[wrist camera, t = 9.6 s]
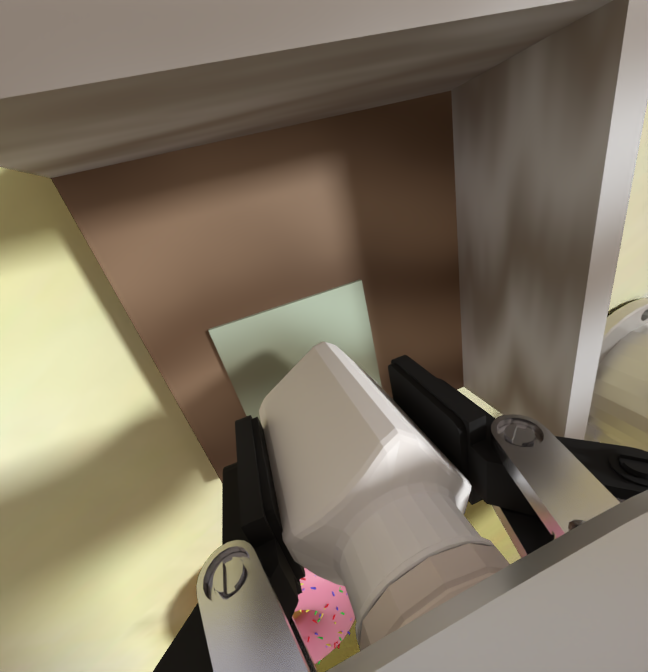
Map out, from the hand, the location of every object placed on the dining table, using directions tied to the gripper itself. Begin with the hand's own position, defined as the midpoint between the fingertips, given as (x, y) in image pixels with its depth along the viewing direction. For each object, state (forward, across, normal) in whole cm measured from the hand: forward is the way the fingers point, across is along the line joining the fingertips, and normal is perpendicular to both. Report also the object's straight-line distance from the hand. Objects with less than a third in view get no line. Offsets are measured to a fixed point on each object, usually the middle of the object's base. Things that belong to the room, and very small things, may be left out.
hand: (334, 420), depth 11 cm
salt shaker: (+2, 0, 0) cm, 2 cm away
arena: (+5, -2, -3) cm, 6 cm away
